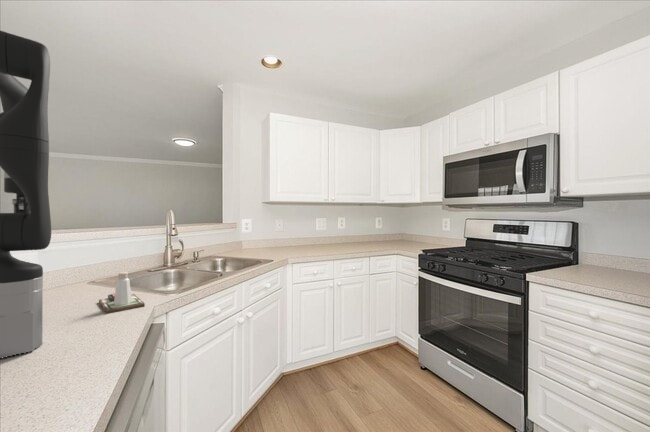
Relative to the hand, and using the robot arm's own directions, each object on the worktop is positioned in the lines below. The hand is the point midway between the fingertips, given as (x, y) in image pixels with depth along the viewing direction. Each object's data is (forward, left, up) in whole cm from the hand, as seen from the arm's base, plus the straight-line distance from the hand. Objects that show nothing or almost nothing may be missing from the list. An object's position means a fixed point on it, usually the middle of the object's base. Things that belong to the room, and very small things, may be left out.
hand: (22, 233), depth 87 cm
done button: (+1, -25, -26) cm, 36 cm away
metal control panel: (-4, -25, -27) cm, 37 cm away
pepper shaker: (-7, -25, -26) cm, 37 cm away
